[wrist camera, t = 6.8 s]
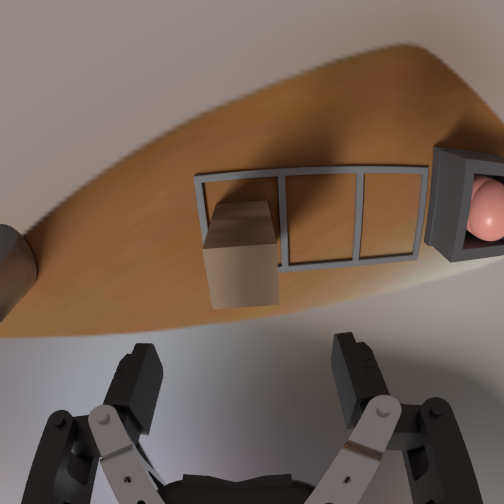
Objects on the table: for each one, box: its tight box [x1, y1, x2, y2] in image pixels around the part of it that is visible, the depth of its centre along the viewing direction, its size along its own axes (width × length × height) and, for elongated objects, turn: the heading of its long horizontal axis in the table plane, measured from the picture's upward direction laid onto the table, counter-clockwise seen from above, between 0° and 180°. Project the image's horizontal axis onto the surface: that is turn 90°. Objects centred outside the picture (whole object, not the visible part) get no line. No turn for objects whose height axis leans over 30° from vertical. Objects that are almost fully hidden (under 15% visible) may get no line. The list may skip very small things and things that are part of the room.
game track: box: [194, 166, 428, 273], centre depth 26 cm, size 22×10×1 cm, turn 94°
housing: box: [424, 146, 504, 262], centre depth 23 cm, size 10×10×5 cm
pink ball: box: [466, 173, 504, 241], centre depth 21 cm, size 6×6×6 cm
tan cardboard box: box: [202, 200, 279, 309], centre depth 23 cm, size 4×4×9 cm
